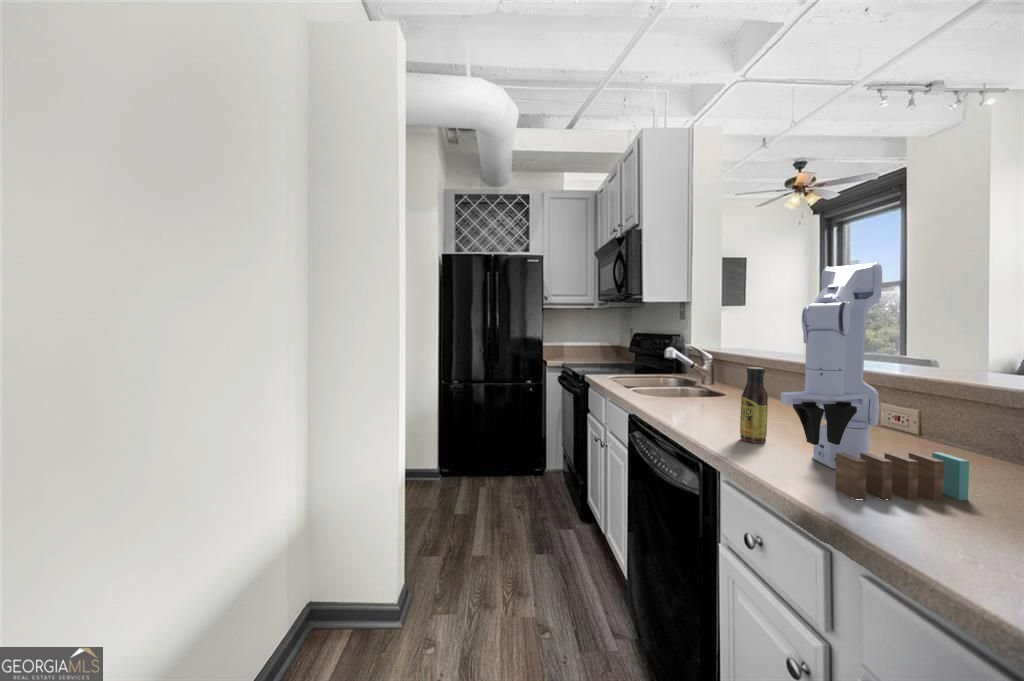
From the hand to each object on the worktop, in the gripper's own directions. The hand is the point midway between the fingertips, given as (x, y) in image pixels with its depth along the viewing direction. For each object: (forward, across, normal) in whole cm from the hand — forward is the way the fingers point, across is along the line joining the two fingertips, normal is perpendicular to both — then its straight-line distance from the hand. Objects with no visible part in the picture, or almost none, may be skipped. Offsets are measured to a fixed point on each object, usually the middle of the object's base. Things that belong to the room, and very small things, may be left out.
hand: (823, 443), depth 77 cm
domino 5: (+10, +23, 0) cm, 25 cm away
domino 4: (+10, +19, 0) cm, 21 cm away
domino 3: (+10, +14, 0) cm, 17 cm away
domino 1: (+10, +5, 0) cm, 11 cm away
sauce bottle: (+10, +7, +36) cm, 38 cm away
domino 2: (+10, +10, 0) cm, 14 cm away
